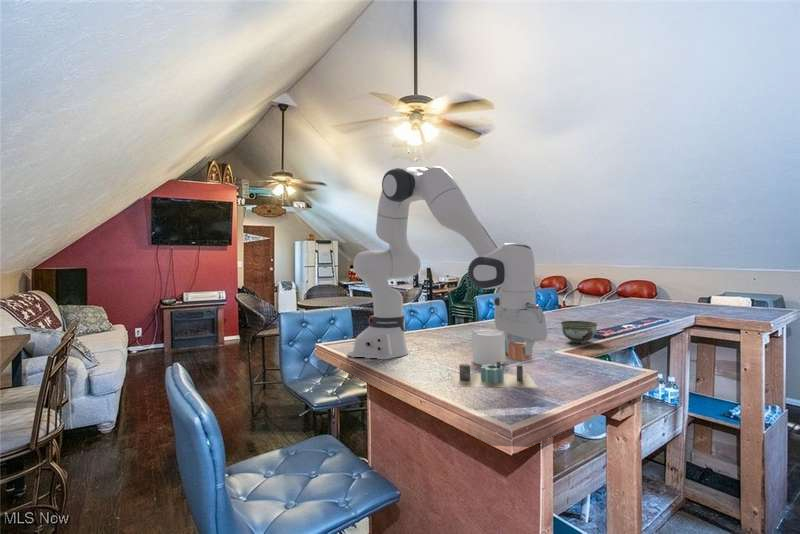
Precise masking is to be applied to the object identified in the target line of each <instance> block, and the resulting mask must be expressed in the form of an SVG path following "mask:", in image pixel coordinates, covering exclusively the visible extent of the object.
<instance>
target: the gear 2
mask: <svg viewBox="0 0 800 534" xmlns="http://www.w3.org/2000/svg"><path fill="white" fill-rule="evenodd" d="M525 345H526V342H525V343H519V342H515V343H509V344H508V355H507V356H508V357H507V358H509V359H512V360H513V361H516V360H518V361H519V360H520V361H525V360H528V361H529V360H532V358H533V354H532V355H525V354H523V348H525Z"/></svg>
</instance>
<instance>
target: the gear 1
mask: <svg viewBox="0 0 800 534" xmlns="http://www.w3.org/2000/svg"><path fill="white" fill-rule="evenodd" d="M489 365H491V364H487V365H481V366H480V373H481V381H485V382H486V383H489V382H490V383H498V382H503V380H504V374H505V373H504V366H502V365H500V362H499V361H497V365H495V368H489Z"/></svg>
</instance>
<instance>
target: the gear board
mask: <svg viewBox="0 0 800 534" xmlns="http://www.w3.org/2000/svg"><path fill="white" fill-rule="evenodd" d="M458 368H459V372H452V373H451V375H452V376H451V379H452V387H461V388H462V387H463V388H464V387H467V388H473V387H474V388H515V389H516V388H517V389H518V388H523V389H529V388H530V389H539V387H538V385H536V383H535V381H534V380H533V378H532V377H531V376H530V374H529V373H523V371H524V369H523V365H521V364H517V365H516V373H504V380H503V382H498V383H490V382H489V383H486V382H485V381H481V372H480V373H479V372H478V373H477V372H476V373H473V372H471V365H470V364H468V363H461V364H459V367H458ZM489 368H495V365H489Z"/></svg>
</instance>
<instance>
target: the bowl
mask: <svg viewBox="0 0 800 534" xmlns="http://www.w3.org/2000/svg"><path fill="white" fill-rule="evenodd" d="M560 324H561V330H562V334H563V335H564V336H565V338H567V339H568V340H569V341H570V343H571V342H572V344H575V343H587V344H588V342H589V341H590V340H592V339H593V338H594V337H595V335H596V333H597V327H598V323H596V322H593V321H587V320H586V321H585V320H563V321H561V322H560Z"/></svg>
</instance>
